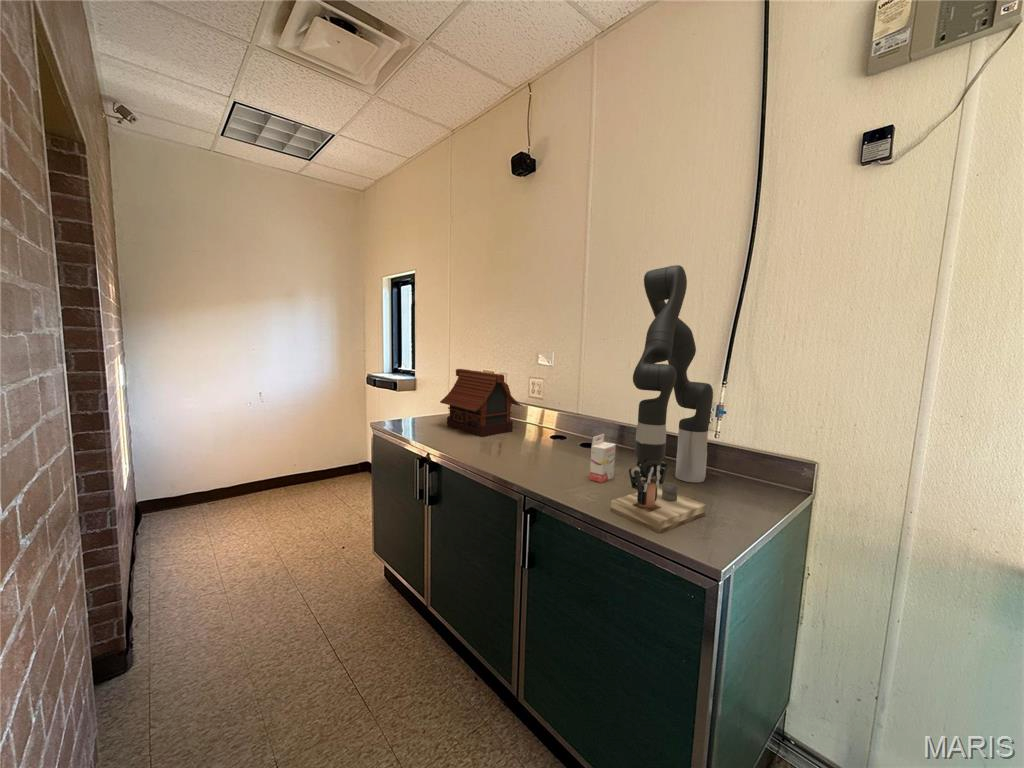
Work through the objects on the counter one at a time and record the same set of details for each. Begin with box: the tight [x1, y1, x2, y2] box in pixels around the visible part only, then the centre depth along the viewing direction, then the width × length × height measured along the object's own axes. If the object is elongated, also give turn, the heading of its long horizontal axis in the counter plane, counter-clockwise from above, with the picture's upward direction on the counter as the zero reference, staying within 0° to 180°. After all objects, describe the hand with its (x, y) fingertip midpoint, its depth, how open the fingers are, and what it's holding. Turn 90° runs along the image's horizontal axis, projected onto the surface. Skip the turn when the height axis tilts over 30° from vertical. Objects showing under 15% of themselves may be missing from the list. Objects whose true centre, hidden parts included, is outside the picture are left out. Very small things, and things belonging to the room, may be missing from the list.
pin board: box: [610, 482, 707, 534], centre depth 118 cm, size 20×16×7 cm
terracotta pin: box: [639, 481, 656, 508], centre depth 115 cm, size 4×4×6 cm
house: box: [439, 368, 521, 438], centre depth 215 cm, size 35×28×29 cm
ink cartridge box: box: [589, 433, 617, 484], centre depth 145 cm, size 9×5×15 cm, turn 141°
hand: (646, 502), depth 115 cm, fingers closed on terracotta pin, 3 cm apart
